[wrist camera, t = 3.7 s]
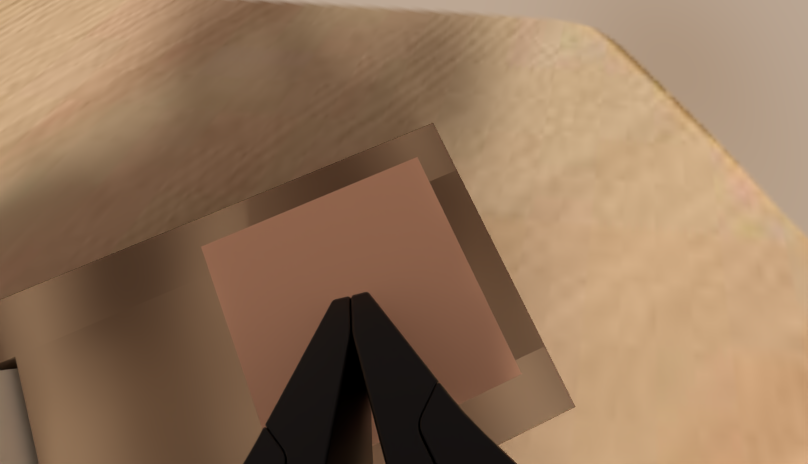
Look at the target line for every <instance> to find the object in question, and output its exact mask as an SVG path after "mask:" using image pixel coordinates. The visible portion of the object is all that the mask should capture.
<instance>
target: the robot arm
mask: <svg viewBox="0 0 808 464" xmlns="http://www.w3.org/2000/svg"><path fill="white" fill-rule="evenodd" d="M371 410H372V414H373V418H374V422H375V426H376V429H377V433H378V437H379V441H380V445H381V449H382V452H383V456H384V460H385V464H517V463H516V462H515V461H514V460H512V459H511V458H510V457H509V456H508V455H507V454H506V453H505V452H504V451H503V450H502V449H501V448H500V447H499V446H498V445H497V444H496V443H495V442H494V441H493V440H492V439H491V438H489V437H488V436H487V435H486V434H485V433H484V432H483V431H482V430H481V429H480V428H479V427H478V426H477V425H476V423H475V422H474V421H473V420H472V419H471V418H470V417H469V416H468V415H467V414H466V413H465V412H464V411H463V410H462V408H461V407H460V406H459V405H458V404H457V403H456V401H455V400H454V399H453V398H452V397H451V396H450V394H449V393H448V392H447V391H446V389H445V388H444V387H443V385H442V384H441V383H439V381H438V379H437V378H436V377H435V376H434V374H433V373H432V372H431V371H430V369H429V368H428V367H427V365H426V364H425V363H424V362H423V360H422V359H421V358H420V357H419V355H418V354H417V353H416V351H415V350H414V349H413V348H412V346H411V345H410V344H409V343H408V341H407V340H406V339H405V338H404V336H403V335H402V334H401V332H400V331H399V330H398V329H397V327H396V326H395V325H394V324H393V322H392V321H391V320H390V318H389V317H388V316H387V315H386V313H385V312H384V311H383V310H382V308H381V307H380V306H379V305H378V303H377V302H376V301H375V299H374V298H373V297H372V296H371V294H370V293H369V292H363V293H359V294H355V295H352V297H351V298H350V297H349V296H346V297H342V298H338V299H335V300H333V301H332V302H331V304H330V306H329V307H328V309H327V311H326V313H325V315H324V317H323V319H322V320H321V322H320V324H319V326H318V328H317V330H316V331H315V333H314V335H313V337H312V339H311V341H310V343H309V344H308V346H307V348H306V350H305V352H304V354H303V355H302V357H301V359H300V361H299V363H298V365H297V367H296V368H295V370H294V372H293V374H292V376H291V378H290V379H289V381H288V383H287V385H286V387H285V389H284V391H283V392H282V394H281V396H280V398H279V400H278V402H277V403H276V405H275V407H274V409H273V411H272V413H271V415H270V416H269V418H268V420H267V422H266V424H265V426H266V427H264V428H263V429H262V431H261V433H260V435H259V436H258V438H257V440H256V442H255V444H254V446H253V447H252V449H251V451H250V453H249V454H248V456H247V458H246V460H245V461H244V463H243V464H373V450H372V421H371Z"/></svg>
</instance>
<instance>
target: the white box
mask: <svg viewBox="0 0 808 464" xmlns="http://www.w3.org/2000/svg"><path fill="white" fill-rule="evenodd" d="M0 464H39V462H38V457H37V453H36V448H35V444H34V439H33V435H32V430H31V426H30V421H29V417H28V412H27V408H26V403H25V399H24V394H23V390H22V385H21V381H20V376H19V372H18V368H16V369H8V370H0Z"/></svg>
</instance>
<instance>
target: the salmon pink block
mask: <svg viewBox="0 0 808 464" xmlns="http://www.w3.org/2000/svg"><path fill="white" fill-rule="evenodd" d="M201 248H202V251H203V254H204V257H205V260H206V263H207V266H208V269H209V272H210V275H211V278H212V281H213V284H214V287H215V290H216V293H217V296H218V299H219V302H220V305H221V308H222V311H223V314H224V317H225V319H226V322H227V325H228V328H229V331H230V334H231V337H232V340H233V343H234V346H235V349H236V352H237V355H238V358H239V361H240V364H241V367H242V370H243V373H244V376H245V379H246V382H247V385H248V388H249V391H250V393H251V396H252V399H253V402H254V405H255V408H256V411H257V414H258V417H259V420H260V423H261V426H262V429H263V428H264V427H266V426H265V424H266V422H267V420H268V418H269V416H270V415H271V413H272V411H273V409H274V407H275V405H276V403H277V402H278V400H279V398H280V396H281V394H282V392H283V391H284V389H285V387H286V385H287V383H288V381H289V379H290V378H291V376H292V374H293V372H294V370H295V368H296V367H297V365H298V363H299V361H300V359H301V357H302V355H303V354H304V352H305V350H306V348H307V346H308V344H309V343H310V341H311V339H312V337H313V335H314V333H315V331H316V330H317V328H318V326H319V324H320V322H321V320H322V319H323V317H324V315H325V313H326V311H327V309H328V307H329V306H330V304H331V302H332V301H333V300H335V299H338V298H342V297H346V296H349V297H350V298H351V297H352V295H355V294H359V293H363V292H369V293H370V294H371V296H372V297H373V298H374V299H375V301H376V302H377V303H378V305H379V306H380V307H381V308H382V310H383V311H384V312H385V313H386V315H387V316H388V317H389V318H390V320H391V321H392V322H393V324H394V325H395V326H396V327H397V329H398V330H399V331H400V332H401V334H402V335H403V336H404V338H405V339H406V340H407V341H408V343H409V344H410V345H411V346H412V348H413V349H414V350H415V351H416V353H417V354H418V355H419V357H420V358H421V359H422V360H423V362H424V363H425V364H426V365H427V367H428V368H429V369H430V371H431V372H432V373H433V374H434V376H435V377H436V378H437V379H438V381H439V383H441V384H442V385H443V387H444V388H445V389H446V391H447V392H448V393H449V394H450V396H451V397H452V398H453V399H454V400H455V401H456V403H457V404H458V405H459V404H461V403H463V402H465V401H467V400H469V399H471V398H473V397H475V396H477V395H479V394H482V393H484V392H486V391H488V390H490V389H492V388H494V387H496V386H498V385H500V384H502V383H504V382H507V381H509V380H511V379H513V378H515V377H517V376H519V375H521V374H522V373H521V371H520V369H519V367H518V365H517V363H516V361H515V359H514V356H513V354H512V352H511V350H510V348H509V346H508V344H507V342H506V340H505V338H504V336H503V334H502V332H501V330H500V327H499V325H498V323H497V321H496V319H495V317H494V315H493V313H492V311H491V309H490V307H489V305H488V303H487V300H486V298H485V296H484V294H483V292H482V290H481V288H480V286H479V284H478V282H477V280H476V278H475V276H474V273H473V271H472V269H471V267H470V265H469V263H468V261H467V259H466V257H465V255H464V253H463V251H462V249H461V246H460V244H459V242H458V240H457V238H456V236H455V234H454V232H453V230H452V228H451V226H450V224H449V222H448V219H447V217H446V215H445V213H444V211H443V209H442V207H441V205H440V203H439V201H438V199H437V197H436V195H435V192H434V190H433V188H432V186H431V184H430V182H429V180H428V178H427V176H426V174H425V172H424V170H423V168H422V165H421V163H420V161H419V159H418V157H416V158H413V159H411V160H409V161H406V162H404V163H401V164H399V165H397V166H394V167H392V168H389V169H387V170H384V171H382V172H380V173H377V174H375V175H372V176H370V177H368V178H365V179H363V180H360V181H358V182H356V183H353V184H351V185H348V186H346V187H344V188H341V189H339V190H336V191H334V192H331V193H329V194H327V195H324V196H322V197H319V198H317V199H315V200H312V201H310V202H307V203H305V204H303V205H300V206H298V207H295V208H293V209H291V210H288V211H286V212H283V213H281V214H279V215H276V216H274V217H271V218H269V219H266V220H264V221H262V222H259V223H257V224H254V225H252V226H250V227H247V228H245V229H242V230H240V231H238V232H235V233H233V234H230V235H228V236H226V237H223V238H221V239H218V240H216V241H213V242H211V243H209V244H206V245H204V246H201ZM371 421H372V446H373V445H375V444H377V443H379V442H380V441H379V437H378V433H377V429H376V426H375V422H374V418H373V414H372V410H371Z"/></svg>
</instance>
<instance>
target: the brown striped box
mask: <svg viewBox="0 0 808 464" xmlns="http://www.w3.org/2000/svg"><path fill="white" fill-rule="evenodd" d="M416 157H418V159H419V161H420V163H421V165H422V168H423V170H424V172H425V174H426V176H427V178H428V180H429V182H430V184H431V186H432V188H433V190H434V192H435V195H436V197H437V199H438V201H439V203H440V205H441V207H442V209H443V211H444V213H445V215H446V217H447V219H448V222H449V224H450V226H451V228H452V230H453V232H454V234H455V236H456V238H457V240H458V242H459V244H460V246H461V249H462V251H463V253H464V255H465V257H466V259H467V261H468V263H469V265H470V267H471V269H472V271H473V273H474V276H475V278H476V280H477V282H478V284H479V286H480V288H481V290H482V292H483V294H484V296H485V298H486V300H487V303H488V305H489V307H490V309H491V311H492V313H493V315H494V317H495V319H496V321H497V323H498V325H499V327H500V330H501V332H502V334H503V336H504V338H505V340H506V342H507V344H508V346H509V348H510V350H511V352H512V354H513V356H514V359H515V361H516V363H517V365H518V367H519V369H520V371H521V373H522V374H521V375H519V376H517V377H515V378H513V379H511V380H509V381H507V382H504V383H502V384H500V385H498V386H496V387H494V388H492V389H490V390H488V391H486V392H484V393H482V394H479V395H477V396H475V397H473V398H471V399H469V400H467V401H465V402H463V403H461V404H459V406H460V407H461V408H462V410H463V411H464V412H465V413H466V414H467V415H468V416H469V417H470V418H471V419H472V420H473V421H474V422H475V423H476V425H477V426H478V427H479V428H480V429H481V430H482V431H483V432H484V433H485V434H486V435H487V436H488V437H489V438H491V439H492V440H493V441H494V442H495V443H496V444H497V445H499V444H501V443H503V442H505V441H507V440H509V439H511V438H513V437H515V436H517V435H519V434H521V433H523V432H525V431H527V430H530V429H532V428H534V427H536V426H538V425H540V424H542V423H544V422H546V421H548V420H550V419H552V418H554V417H556V416H558V415H560V414H562V413H564V412H566V411H568V410H570V409H572V408H574V407H575V405H574V403H573V401H572V399H571V397H570V395H569V393H568V391H567V389H566V387H565V385H564V383H563V381H562V379H561V377H560V375H559V373H558V371H557V369H556V367H555V365H554V363H553V361H552V359H551V357H550V355H549V353H548V351H547V349H546V347H545V345H544V343H543V341H542V339H541V337H540V335H539V333H538V331H537V329H536V327H535V325H534V323H533V321H532V319H531V317H530V315H529V313H528V311H527V309H526V307H525V305H524V303H523V301H522V299H521V297H520V295H519V293H518V291H517V289H516V287H515V285H514V283H513V281H512V279H511V277H510V275H509V273H508V271H507V269H506V267H505V265H504V263H503V261H502V259H501V257H500V255H499V253H498V251H497V249H496V247H495V245H494V243H493V241H492V239H491V237H490V235H489V233H488V231H487V229H486V227H485V225H484V223H483V221H482V219H481V217H480V215H479V213H478V211H477V209H476V207H475V205H474V203H473V201H472V199H471V197H470V195H469V193H468V191H467V189H466V187H465V185H464V183H463V181H462V180H461V178H460V176H459V174H458V172H457V170H456V168H455V166H454V164H453V162H452V160H451V158H450V156H449V154H448V152H447V150H446V148H445V146H444V144H443V142H442V140H441V138H440V136H439V134H438V132H437V130H436V128H435V126H434V124H433V123H432V124H429V125H427V126H424V127H422V128H419V129H417V130H414V131H412V132H410V133H407V134H405V135H402V136H400V137H397V138H395V139H392V140H390V141H388V142H385V143H383V144H380V145H378V146H375V147H373V148H370V149H368V150H366V151H363V152H361V153H358V154H356V155H353V156H351V157H348V158H346V159H344V160H341V161H339V162H336V163H334V164H331V165H329V166H326V167H324V168H321V169H319V170H317V171H314V172H312V173H309V174H307V175H304V176H302V177H299V178H297V179H295V180H292V181H290V182H287V183H285V184H282V185H280V186H277V187H275V188H273V189H270V190H268V191H265V192H263V193H260V194H258V195H255V196H253V197H251V198H248V199H246V200H243V201H241V202H238V203H236V204H233V205H231V206H228V207H226V208H224V209H221V210H219V211H216V212H214V213H211V214H209V215H206V216H204V217H202V218H199V219H197V220H194V221H192V222H189V223H187V224H184V225H182V226H180V227H177V228H175V229H172V230H170V231H167V232H165V233H162V234H160V235H158V236H155V237H153V238H150V239H148V240H145V241H143V242H140V243H138V244H136V245H133V246H131V247H128V248H126V249H123V250H121V251H118V252H116V253H113V254H111V255H109V256H106V257H104V258H101V259H99V260H96V261H94V262H91V263H89V264H87V265H84V266H82V267H79V268H77V269H74V270H72V271H69V272H67V273H65V274H62V275H60V276H57V277H55V278H52V279H50V280H47V281H45V282H43V283H40V284H38V285H35V286H33V287H30V288H28V289H25V290H23V291H20V292H18V293H16V294H13V295H11V296H8V297H6V298H3V299H1V300H0V370H8V369H16V368H18V372H19V376H20V381H21V385H22V390H23V394H24V399H25V403H26V408H27V412H28V417H29V421H30V426H31V430H32V435H33V439H34V444H35V448H36V453H37V457H38V462H39V464H243V463H244V461H245V460H246V458H247V456H248V454H249V453H250V451H251V449H252V447H253V446H254V444H255V442H256V440H257V438H258V436H259V435H260V433H261V431H262V426H261V423H260V420H259V417H258V414H257V411H256V408H255V405H254V402H253V399H252V396H251V393H250V391H249V388H248V385H247V382H246V379H245V376H244V373H243V370H242V367H241V364H240V361H239V358H238V355H237V352H236V349H235V346H234V343H233V340H232V337H231V334H230V331H229V328H228V325H227V322H226V319H225V317H224V314H223V311H222V308H221V305H220V302H219V299H218V296H217V293H216V290H215V287H214V284H213V281H212V278H211V275H210V272H209V269H208V266H207V263H206V260H205V257H204V254H203V251H202V248H201V246H204V245H206V244H209V243H211V242H213V241H216V240H218V239H221V238H223V237H226V236H228V235H230V234H233V233H235V232H238V231H240V230H242V229H245V228H247V227H250V226H252V225H254V224H257V223H259V222H262V221H264V220H266V219H269V218H271V217H274V216H276V215H279V214H281V213H283V212H286V211H288V210H291V209H293V208H295V207H298V206H300V205H303V204H305V203H307V202H310V201H312V200H315V199H317V198H319V197H322V196H324V195H327V194H329V193H331V192H334V191H336V190H339V189H341V188H344V187H346V186H348V185H351V184H353V183H356V182H358V181H360V180H363V179H365V178H368V177H370V176H372V175H375V174H377V173H380V172H382V171H384V170H387V169H389V168H392V167H394V166H397V165H399V164H401V163H404V162H406V161H409V160H411V159H413V158H416ZM372 450H373V464H385V460H384V456H383V452H382V449H381V445H380V442H379V443H377V444H375V445H373V446H372Z"/></svg>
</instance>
